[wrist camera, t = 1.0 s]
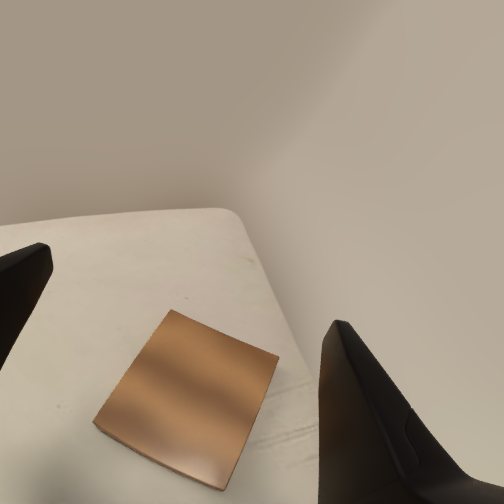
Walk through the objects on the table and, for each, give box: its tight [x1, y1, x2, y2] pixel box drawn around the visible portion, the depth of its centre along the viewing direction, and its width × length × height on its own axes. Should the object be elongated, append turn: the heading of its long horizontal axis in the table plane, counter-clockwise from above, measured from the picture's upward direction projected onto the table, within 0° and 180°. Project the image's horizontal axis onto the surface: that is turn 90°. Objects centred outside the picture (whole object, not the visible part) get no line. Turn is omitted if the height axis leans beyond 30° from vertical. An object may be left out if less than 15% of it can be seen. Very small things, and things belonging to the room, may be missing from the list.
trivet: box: [93, 309, 279, 491], centre depth 21 cm, size 12×10×2 cm
